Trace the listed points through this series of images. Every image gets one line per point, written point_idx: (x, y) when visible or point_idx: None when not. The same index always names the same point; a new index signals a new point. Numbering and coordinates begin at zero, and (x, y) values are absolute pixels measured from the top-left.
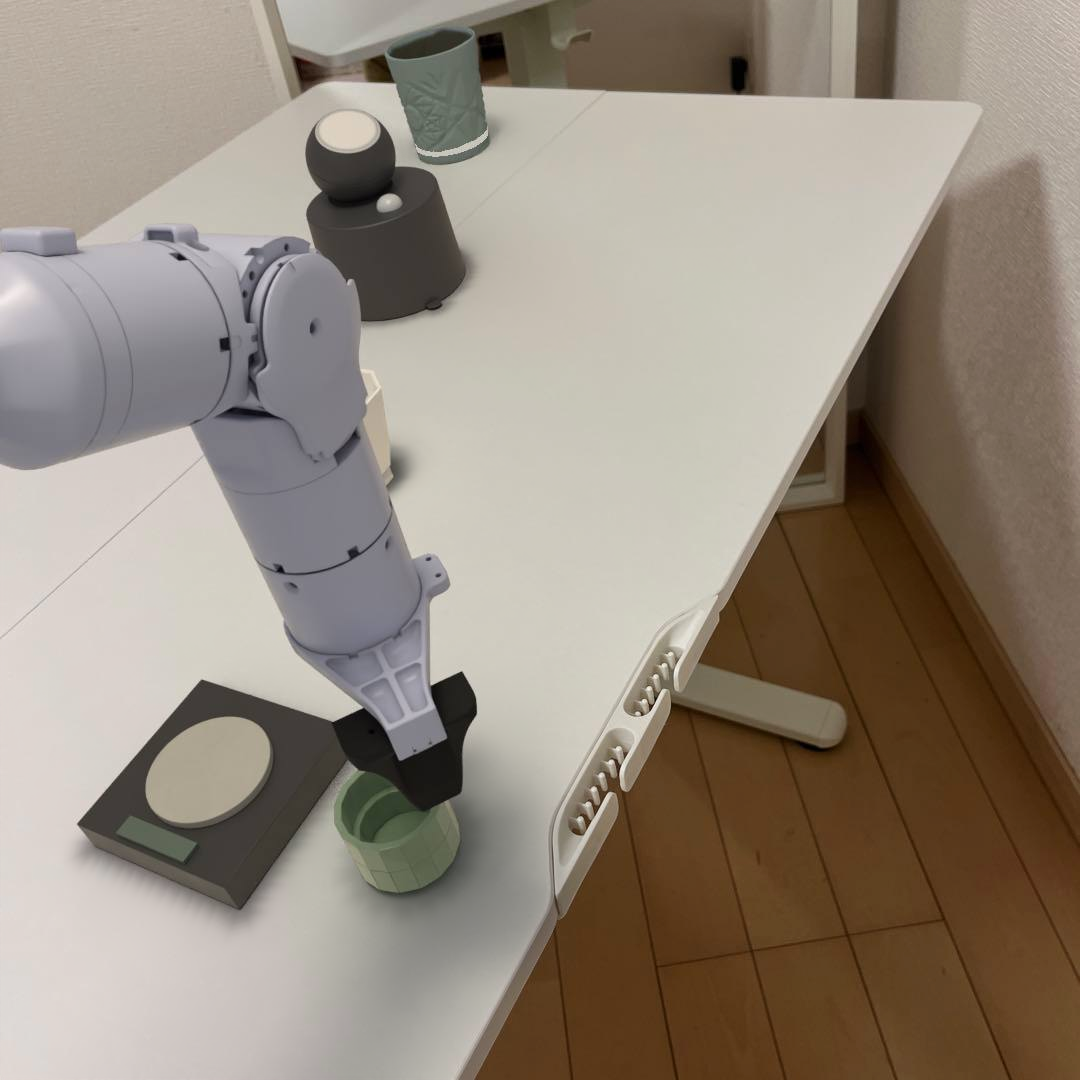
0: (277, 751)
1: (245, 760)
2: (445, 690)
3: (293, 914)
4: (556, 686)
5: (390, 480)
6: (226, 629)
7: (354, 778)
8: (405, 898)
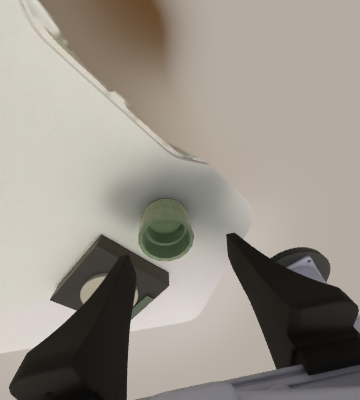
0: (105, 271)
1: None
2: (315, 324)
3: None
4: (81, 129)
5: None
6: (6, 284)
7: (146, 252)
8: None
